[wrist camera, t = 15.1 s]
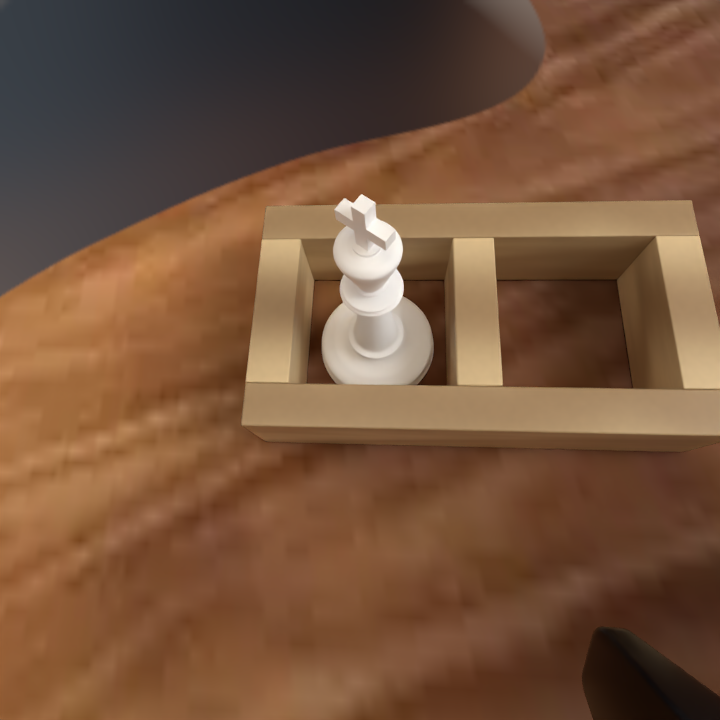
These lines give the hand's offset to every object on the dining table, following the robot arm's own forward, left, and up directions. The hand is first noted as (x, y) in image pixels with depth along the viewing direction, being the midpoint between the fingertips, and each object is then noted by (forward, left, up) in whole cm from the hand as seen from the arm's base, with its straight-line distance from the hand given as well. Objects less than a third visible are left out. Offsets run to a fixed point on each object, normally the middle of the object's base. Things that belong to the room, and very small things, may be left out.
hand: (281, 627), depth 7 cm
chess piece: (+5, -8, -13) cm, 16 cm away
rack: (+2, -10, -13) cm, 16 cm away
